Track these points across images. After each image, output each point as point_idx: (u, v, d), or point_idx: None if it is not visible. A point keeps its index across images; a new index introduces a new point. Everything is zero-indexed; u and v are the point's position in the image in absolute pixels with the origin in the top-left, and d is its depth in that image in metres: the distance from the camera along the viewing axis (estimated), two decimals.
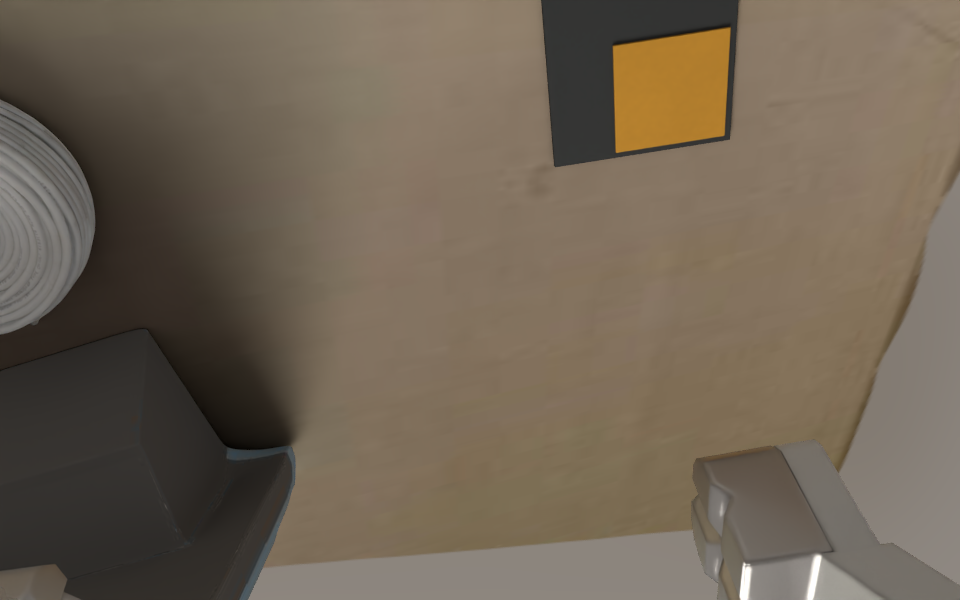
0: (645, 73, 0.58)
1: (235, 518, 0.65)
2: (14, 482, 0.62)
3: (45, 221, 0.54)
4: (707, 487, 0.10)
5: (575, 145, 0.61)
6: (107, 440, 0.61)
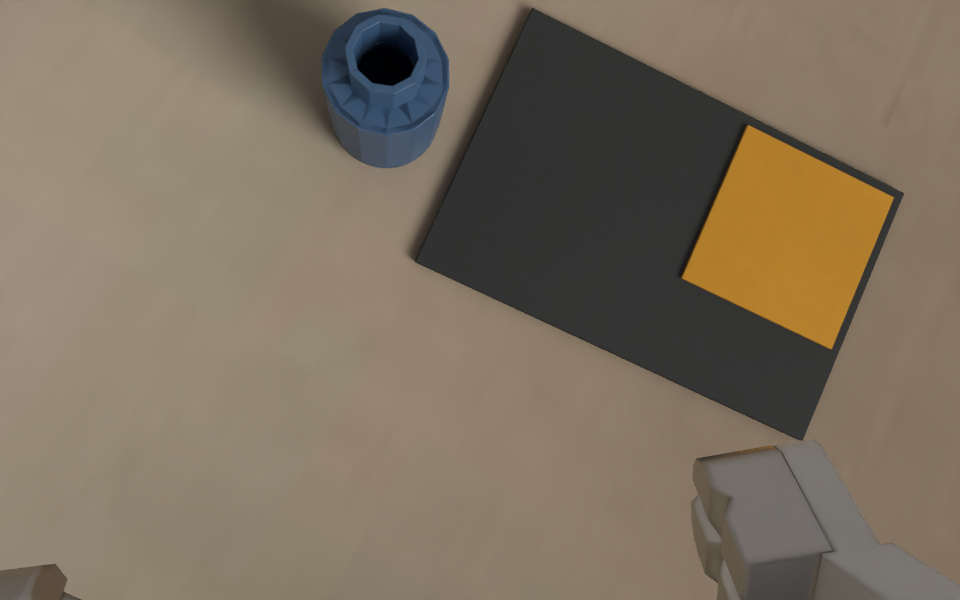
0: (743, 255, 0.39)
1: None
2: None
3: None
4: (707, 487, 0.10)
5: (787, 396, 0.40)
6: None
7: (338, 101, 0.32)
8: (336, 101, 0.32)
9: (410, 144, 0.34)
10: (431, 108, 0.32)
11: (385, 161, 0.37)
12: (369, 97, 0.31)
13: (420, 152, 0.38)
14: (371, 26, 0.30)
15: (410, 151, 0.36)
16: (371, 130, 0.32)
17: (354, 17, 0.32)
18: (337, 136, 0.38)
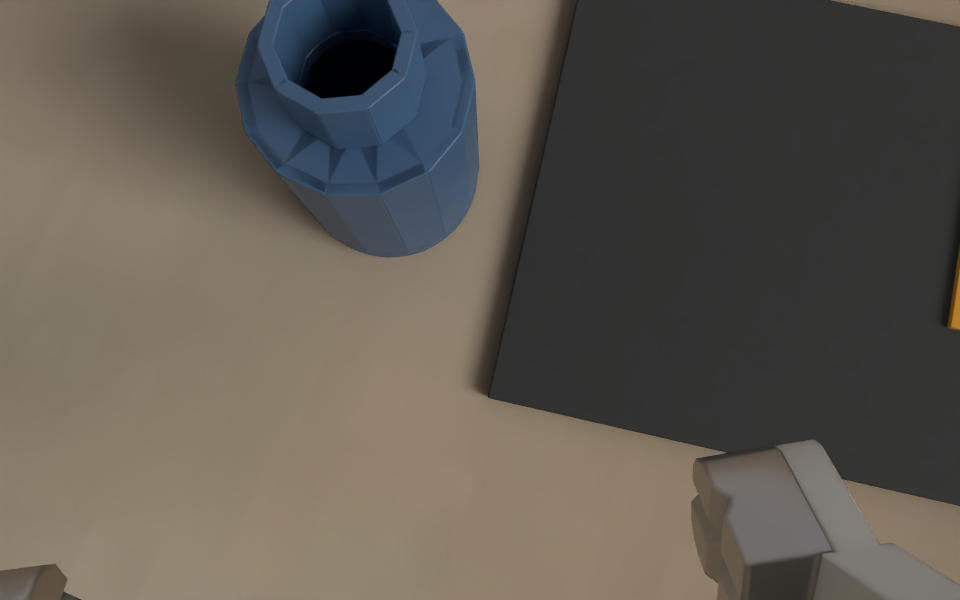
0: None
1: None
2: None
3: None
4: (707, 487, 0.10)
5: None
6: None
7: (279, 154, 0.17)
8: (276, 154, 0.17)
9: (432, 204, 0.19)
10: (451, 127, 0.17)
11: (402, 244, 0.22)
12: (327, 130, 0.16)
13: (458, 217, 0.23)
14: None
15: (438, 218, 0.21)
16: (349, 192, 0.17)
17: None
18: None
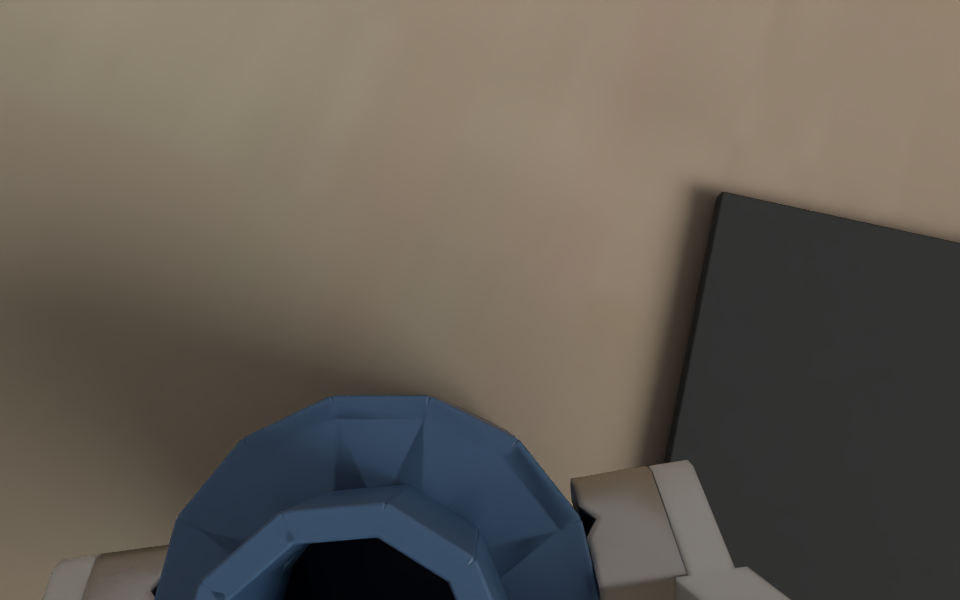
0: None
1: None
2: None
3: None
4: (578, 508, 0.10)
5: None
6: None
7: None
8: None
9: None
10: None
11: None
12: None
13: None
14: (264, 568, 0.07)
15: None
16: None
17: (235, 455, 0.09)
18: None
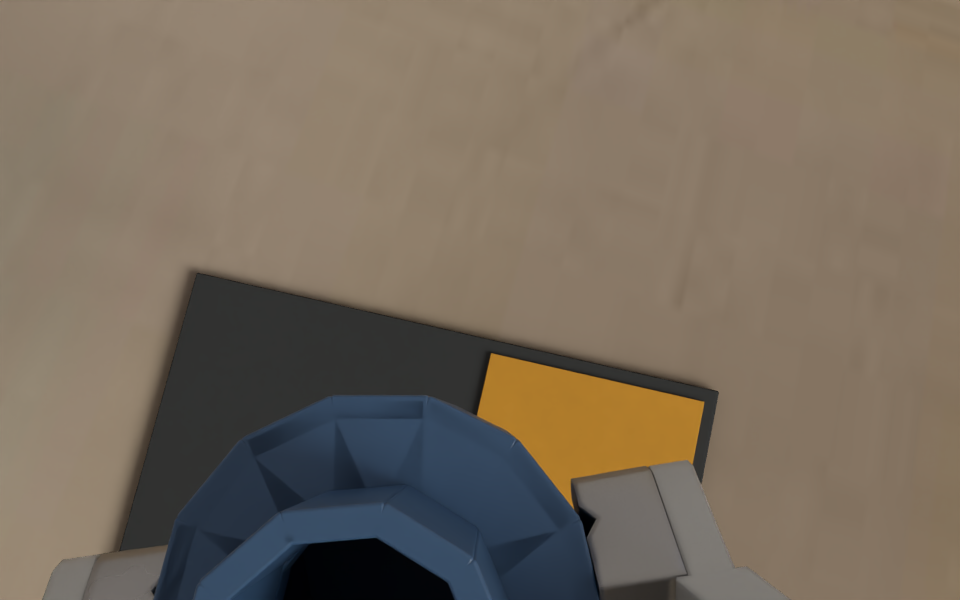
0: None
1: None
2: None
3: None
4: (578, 508, 0.10)
5: None
6: None
7: None
8: None
9: None
10: None
11: None
12: None
13: None
14: (262, 569, 0.07)
15: None
16: None
17: (234, 455, 0.09)
18: None
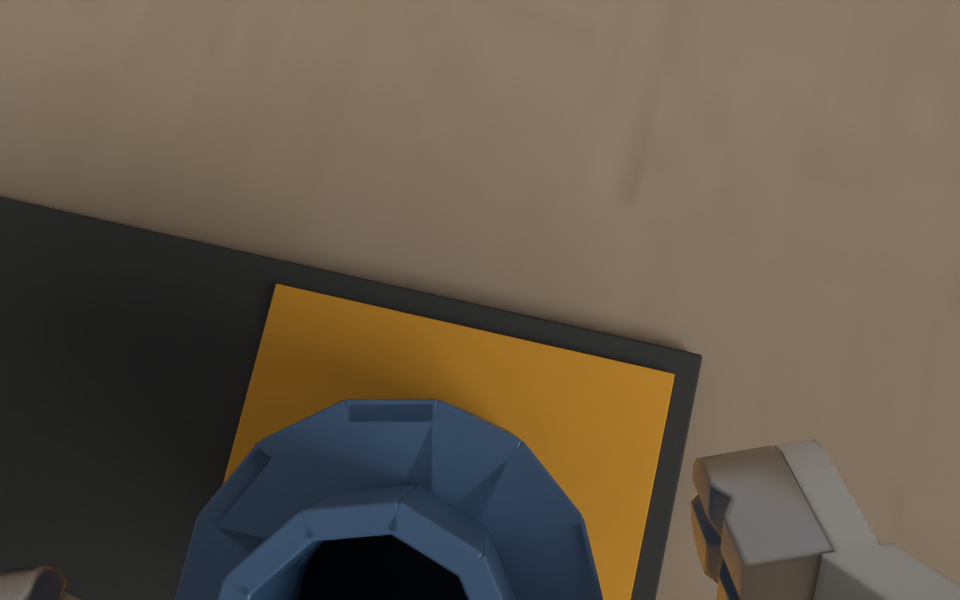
0: None
1: None
2: None
3: None
4: (707, 487, 0.10)
5: None
6: None
7: None
8: None
9: None
10: None
11: None
12: None
13: None
14: (284, 564, 0.08)
15: None
16: None
17: (253, 456, 0.10)
18: None
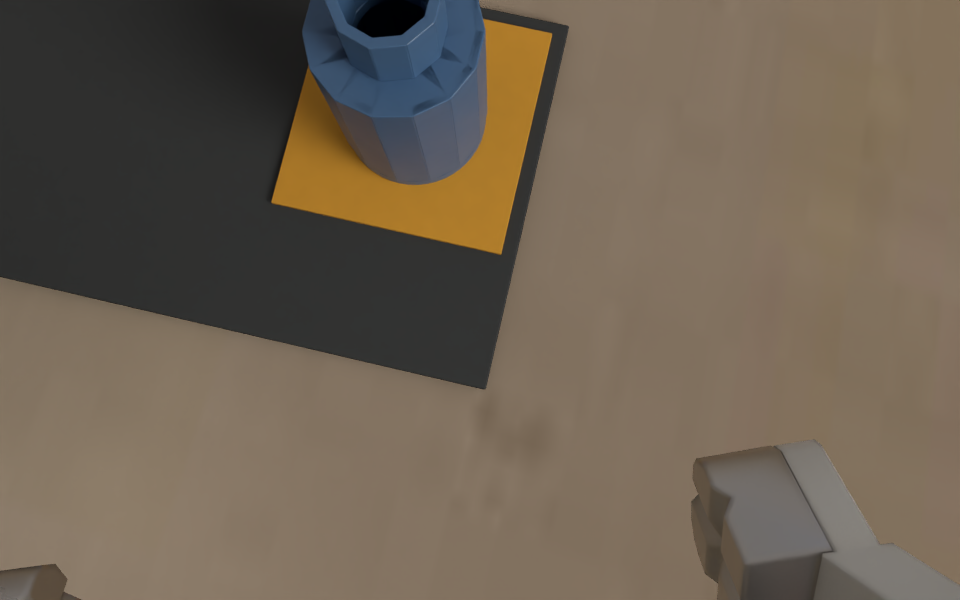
0: (351, 154, 0.29)
1: None
2: None
3: None
4: (707, 487, 0.10)
5: (451, 332, 0.28)
6: None
7: (336, 85, 0.22)
8: (334, 85, 0.22)
9: (451, 132, 0.25)
10: (467, 65, 0.22)
11: (425, 170, 0.27)
12: (374, 64, 0.21)
13: (470, 150, 0.28)
14: None
15: (455, 146, 0.26)
16: (389, 114, 0.22)
17: None
18: (358, 156, 0.28)
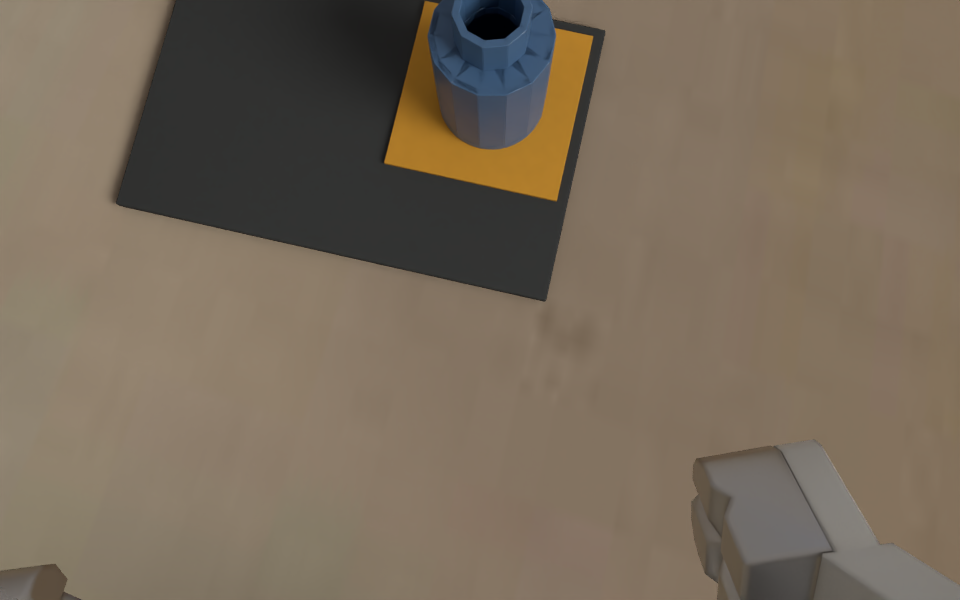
0: (443, 127, 0.38)
1: None
2: None
3: None
4: (707, 487, 0.10)
5: (520, 258, 0.38)
6: None
7: (452, 73, 0.32)
8: (451, 73, 0.32)
9: (527, 107, 0.34)
10: (544, 59, 0.32)
11: (503, 137, 0.36)
12: (483, 58, 0.31)
13: (534, 123, 0.37)
14: None
15: (527, 118, 0.35)
16: (490, 93, 0.32)
17: None
18: (450, 127, 0.38)
